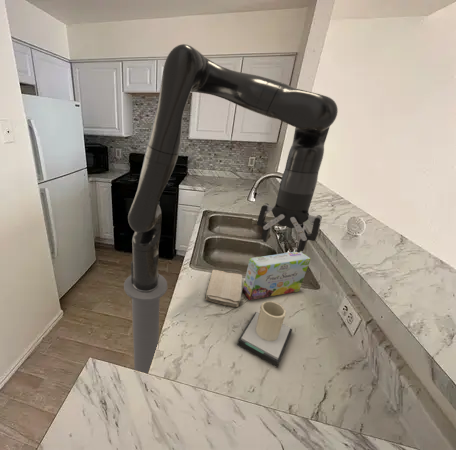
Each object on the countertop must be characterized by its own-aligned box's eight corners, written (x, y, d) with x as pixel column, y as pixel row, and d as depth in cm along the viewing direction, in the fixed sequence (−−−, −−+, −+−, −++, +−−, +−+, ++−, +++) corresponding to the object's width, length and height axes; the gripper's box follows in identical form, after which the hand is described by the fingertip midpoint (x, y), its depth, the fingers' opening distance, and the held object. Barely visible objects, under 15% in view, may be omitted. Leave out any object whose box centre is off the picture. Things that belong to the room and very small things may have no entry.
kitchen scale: (237, 345, 73) (238, 338, 72) (254, 316, 83) (256, 309, 82) (277, 367, 67) (279, 360, 66) (290, 333, 77) (293, 327, 76)
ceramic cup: (252, 333, 73) (258, 309, 69) (259, 320, 78) (265, 297, 74) (274, 345, 70) (282, 321, 66) (281, 331, 74) (288, 307, 70)
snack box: (250, 302, 89) (258, 266, 82) (241, 291, 94) (248, 257, 87) (300, 291, 94) (311, 257, 88) (289, 282, 99) (299, 249, 92)
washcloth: (204, 301, 89) (205, 295, 87) (211, 272, 104) (212, 266, 103) (240, 310, 85) (241, 303, 84) (241, 278, 101) (242, 272, 99)
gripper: (333, 190, 60) (313, 249, 67) (271, 179, 68) (259, 233, 75) (328, 198, 55) (307, 261, 62) (261, 185, 63) (250, 242, 70)
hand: (281, 245), depth 69 cm, fingers open, 8 cm apart
